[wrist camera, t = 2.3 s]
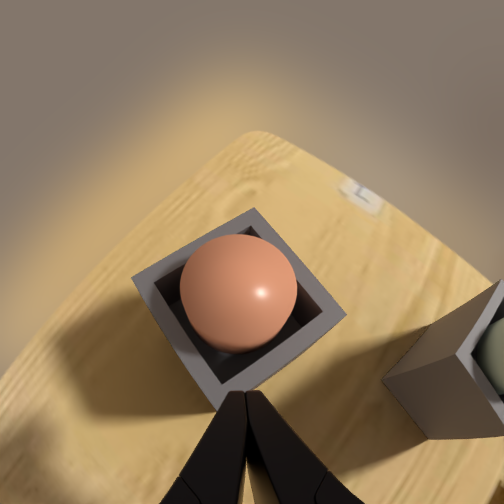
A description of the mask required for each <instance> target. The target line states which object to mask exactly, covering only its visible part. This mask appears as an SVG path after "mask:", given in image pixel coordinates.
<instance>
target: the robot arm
mask: <svg viewBox="0 0 504 504" xmlns="http://www.w3.org/2000/svg"><path fill="white" fill-rule="evenodd" d="M246 461H247V468H248V474H249V479H250V483H251V488H252V493H253V497H254V502H255V504H365V503H364V502H362V501H361V500H360V499H359V498H357V497H356V496H355V495H354V494H352V493H351V492H350V491H349V490H348V489H347V488H346V487H345V486H344V485H343V484H342V483H341V482H340V481H339V480H338V479H337V478H336V477H335V476H334V475H333V474H332V473H331V471H328V468H327V467H326V466H325V465H324V464H323V463H322V462H321V461H320V460H319V459H318V457H317V456H316V455H315V454H314V453H313V452H312V451H311V450H310V449H309V447H308V446H307V445H306V444H305V443H304V442H303V441H302V439H301V438H300V437H299V436H298V435H297V434H296V433H295V431H294V430H293V429H292V428H291V427H290V426H289V424H288V423H287V422H286V421H285V420H284V418H283V417H282V416H281V415H280V414H279V413H278V411H277V410H276V409H275V408H274V406H273V405H272V404H271V403H270V402H269V400H268V399H267V398H266V397H265V395H264V394H263V393H262V392H261V391H260V390H247V391H246V392H244V391H242V390H239V391H229V392H228V393H227V395H226V397H225V399H224V400H223V402H222V404H221V406H220V407H219V409H218V411H217V412H216V414H215V416H214V418H213V419H212V421H211V423H210V424H209V426H208V428H207V429H206V431H205V433H204V434H203V436H202V438H201V439H200V441H199V443H198V444H197V446H196V448H195V449H194V451H193V453H192V454H191V456H190V458H189V459H188V461H187V462H186V464H185V466H184V467H183V469H182V471H181V472H180V474H179V477H177V478H176V480H175V481H174V483H173V485H172V486H171V488H170V489H169V491H168V492H167V493H166V495H165V496H164V498H163V499H162V500H161V502H160V503H159V504H242V502H243V492H244V482H245V472H246Z"/></svg>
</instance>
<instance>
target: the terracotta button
mask: <svg viewBox="0 0 504 504" xmlns="http://www.w3.org/2000/svg"><path fill="white" fill-rule="evenodd" d="M180 295H181V299H182V303H183V306H184V308H185V311H186V314H187V316H188V319H189V321H190V324H191V326H192V328H193V330H194V332H195V333H196V334H197V336H198V337H199V338H200V339H201V340H202V341H203V342H204V343H205V344H207V345H208V346H210V347H211V348H213V349H215V350H218V351H220V352H224V353H228V354H247V353H251V352H255V351H257V350H259V349H261V348H263V347H265V346H266V345H268V344H269V343H270V342H271V341H272V340H273V339H274V338H275V337H276V336H277V335H278V333H279V332H280V330H281V329H282V327H283V325H284V324H285V322H286V320H287V319H288V317H289V316H290V314H291V312H292V310H293V308H294V305H295V301H296V296H297V282H296V277H295V273H294V271H293V268H292V266H291V264H290V263H289V261H288V260H287V258H286V257H285V256H284V254H283V253H282V252H281V251H280V250H279V249H277V248H276V247H275V246H274V245H272V244H270V243H269V242H267V241H265V240H263V239H260V238H257V237H254V236H250V235H243V234H232V235H225V236H221V237H218V238H215V239H212V240H210V241H208V242H206V243H205V244H203V245H202V246H200V247H199V248H198V249H197V250H196V251H195V252H194V253H193V254H192V255H191V256H190V258H189V259H188V261H187V263H186V264H185V266H184V269H183V272H182V275H181V280H180Z"/></svg>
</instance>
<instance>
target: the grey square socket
mask: <svg viewBox="0 0 504 504" xmlns="http://www.w3.org/2000/svg"><path fill="white" fill-rule="evenodd" d="M502 318H504V281H503V280H502V279H501V280H499V281H498V282H496V283H495V284H493V285H492V286H491V287H489V288H488V289H486V290H485V291H483V292H482V293H480V294H479V295H477V296H476V297H474V298H473V299H471V300H470V301H468V302H467V303H465V304H463V305H462V306H460V307H459V308H457V309H455V310H454V311H452V312H450V313H449V314H447V315H446V316H444V317H442V318H440V319H439V320H437V321H435V322H434V323H432V324H431V325H430V326H429V328H428V329H427V330H426V331H425V332H424V334H423V335H422V336H421V337H420V338H419V339H418V341H417V342H416V343H415V344H414V345H413V346H412V347H411V348H410V350H409V351H408V352H407V353H406V354H405V355H404V356H403V357H402V358H401V359H400V361H399V362H398V363H397V364H396V365H395V366H394V367H393V368H392V369H391V370H390V371H389V372H388V373H387V374H386V375H385V376H384V377H383V378H382V379H381V380H382V382H383V383H384V384H385V385H386V387H387V388H388V389H389V390H390V391H391V393H392V394H393V395H394V396H395V398H396V399H397V400H398V401H399V403H400V404H401V405H402V406H403V408H404V409H405V410H406V411H407V413H408V414H409V415H410V416H411V418H412V419H413V420H414V422H415V423H416V424H417V425H418V427H419V428H420V429H421V430H422V432H423V433H424V434H425V435H426V437H427V438H428V439H430V440H442V439H473V438H488V437H499V436H504V394H501V395H498V394H497V393H496V391H495V390H494V388H493V387H492V385H491V384H490V382H489V381H488V379H487V378H486V376H485V375H484V373H483V372H482V370H481V369H480V367H479V366H478V364H477V348H478V343H479V340H480V338H481V336H482V335H483V333H484V331H485V330H486V328H487V327H488V326H489V325H491V324H493V323H495V322H497V321H498V320H500V319H502Z"/></svg>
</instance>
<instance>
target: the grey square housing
mask: <svg viewBox="0 0 504 504" xmlns="http://www.w3.org/2000/svg"><path fill="white" fill-rule="evenodd" d="M232 234H243V235H250V236H254V237H257V238H260V239H263V240H265V241H267V242H269V243H270V244H272V245H274V246H275V247H276V248H277V249H279V250H280V251H281V252H282V253H283V254H284V256H285V257H286V258H287V260H288V261H289V263H290V264H291V266H292V268H293V271H294V273H295V277H296V282H297V296H296V301H295V305H294V308H293V310H292V312H291V314H290V316H289V317H288V319H287V320H286V322H285V324H284V325H283V327H282V329H281V330H280V332H279V333H278V335H277V336H276V337H275V338H274V339H273V340H272V341H271V342H270V343H269V344H268V345H266V346H265V347H263V348H261V349H259V350H257V351H255V352H251V353H247V354H228V353H224V352H220V351H218V350H215V349H213V348H211V347H210V346H208V345H207V344H205V343H204V342H203V341H202V340H201V339H200V338H199V337H198V336H197V334H196V333H195V332H194V330H193V328H192V326H191V324H190V321H189V319H188V316H187V314H186V311H185V308H184V306H183V303H182V299H181V295H180V280H181V275H182V272H183V269H184V266H185V264H186V263H187V261H188V259H189V258H190V256H191V255H192V254H193V253H194V252H195V251H196V250H197V249H198V248H199V247H200V246H202V245H203V244H205V243H206V242H208V241H210V240H212V239H215V238H218V237H221V236H225V235H232ZM131 279H132V280H133V282H134V284H135V286H136V287H137V289H138V291H139V293H140V295H141V296H142V298H143V300H144V301H145V303H146V305H147V307H148V308H149V310H150V312H151V313H152V315H153V317H154V318H155V320H156V322H157V323H158V325H159V326H160V328H161V330H162V331H163V333H164V335H165V336H166V338H167V339H168V341H169V342H170V344H171V346H172V347H173V349H174V350H175V352H176V353H177V355H178V356H179V358H180V359H181V361H182V362H183V364H184V365H185V367H186V368H187V370H188V371H189V373H190V374H191V376H192V377H193V379H194V380H195V381H196V383H197V384H198V386H199V387H200V389H201V390H202V391H203V393H204V394H205V396H206V397H207V398H208V400H209V401H210V402H211V404H212V405H213V407H214V408H215V409H216V411H218V409H219V407H220V406H221V404H222V402H223V400H224V399H225V397H226V395H227V393H228V392H229V391H239V390H242V391H244V392H246V391H247V390H254V389H255V388H257V387H258V386H259V385H261V384H262V383H264V382H265V381H266V380H268V379H269V378H271V377H272V376H273V375H275V374H276V373H277V372H279V371H280V370H281V369H283V368H284V367H285V366H287V365H288V364H289V363H291V362H292V361H293V360H295V359H296V358H297V357H299V356H300V355H301V354H302V353H304V352H305V351H306V350H307V349H308V348H310V347H311V346H312V345H313V344H314V343H316V342H317V341H318V340H319V339H320V338H321V337H322V336H324V335H325V334H326V333H327V332H328V331H329V330H330V329H332V328H333V327H334V326H335V325H336V324H337V323H338V322H339V321H341V320H342V319H343V318H344V317H345V316H346V315H347V314H346V313H345V312H344V311H343V309H342V308H341V307H340V306H339V305H338V303H337V302H336V301H335V300H334V299H333V297H332V296H331V295H330V294H329V293H328V292H327V290H326V289H325V288H324V287H323V286H322V284H321V283H320V282H319V281H318V280H317V279H316V277H315V276H314V275H313V274H312V273H311V272H310V270H309V269H308V268H307V267H306V266H305V265H304V263H303V262H302V261H301V260H300V259H299V258H298V256H297V255H296V254H295V253H294V252H293V251H292V250H291V248H290V247H289V246H288V245H287V244H286V243H285V242H284V240H283V239H282V238H281V237H280V236H279V235H278V234H277V232H276V231H275V230H274V229H273V228H272V227H271V226H270V224H269V223H268V222H267V221H266V220H265V219H264V218H263V217H262V215H261V214H260V213H259V212H258V211H257V210H256V209H255V208H252V209H250V210H248V211H246V212H245V213H243V214H241V215H239V216H237V217H236V218H234V219H232V220H230V221H228V222H227V223H225V224H223V225H221V226H219V227H218V228H216V229H214V230H212V231H210V232H209V233H207V234H205V235H203V236H202V237H200V238H198V239H196V240H195V241H193V242H191V243H189V244H188V245H186V246H184V247H182V248H181V249H179V250H177V251H175V252H174V253H172V254H170V255H168V256H167V257H165V258H163V259H162V260H160V261H158V262H156V263H155V264H153V265H151V266H150V267H148V268H146V269H145V270H143V271H141V272H140V273H138V274H136V275H134V276H133V277H131Z"/></svg>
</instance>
